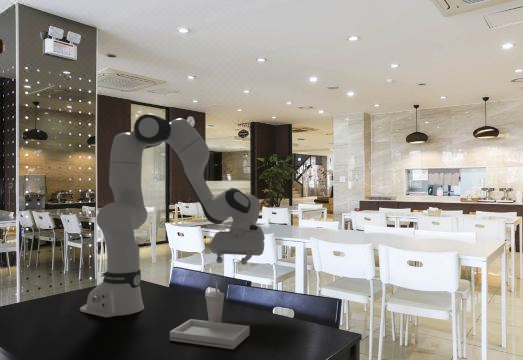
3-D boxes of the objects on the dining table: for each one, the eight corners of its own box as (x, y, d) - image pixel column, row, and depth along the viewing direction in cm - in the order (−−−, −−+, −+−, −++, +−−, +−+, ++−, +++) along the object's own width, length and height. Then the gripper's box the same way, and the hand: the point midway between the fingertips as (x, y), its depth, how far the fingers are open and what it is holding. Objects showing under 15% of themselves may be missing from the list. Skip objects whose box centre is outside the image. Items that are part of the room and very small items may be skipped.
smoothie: (221, 328, 131) (221, 283, 131) (202, 326, 132) (202, 282, 132) (227, 321, 137) (227, 278, 137) (208, 320, 138) (208, 278, 138)
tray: (169, 340, 120) (169, 331, 120) (190, 327, 132) (190, 319, 132) (233, 349, 114) (233, 339, 114) (249, 334, 125) (249, 326, 125)
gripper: (213, 226, 157) (201, 256, 148) (264, 227, 150) (255, 258, 141) (218, 236, 161) (207, 266, 152) (268, 238, 154) (260, 269, 145)
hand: (230, 262), depth 146 cm, fingers open, 8 cm apart
